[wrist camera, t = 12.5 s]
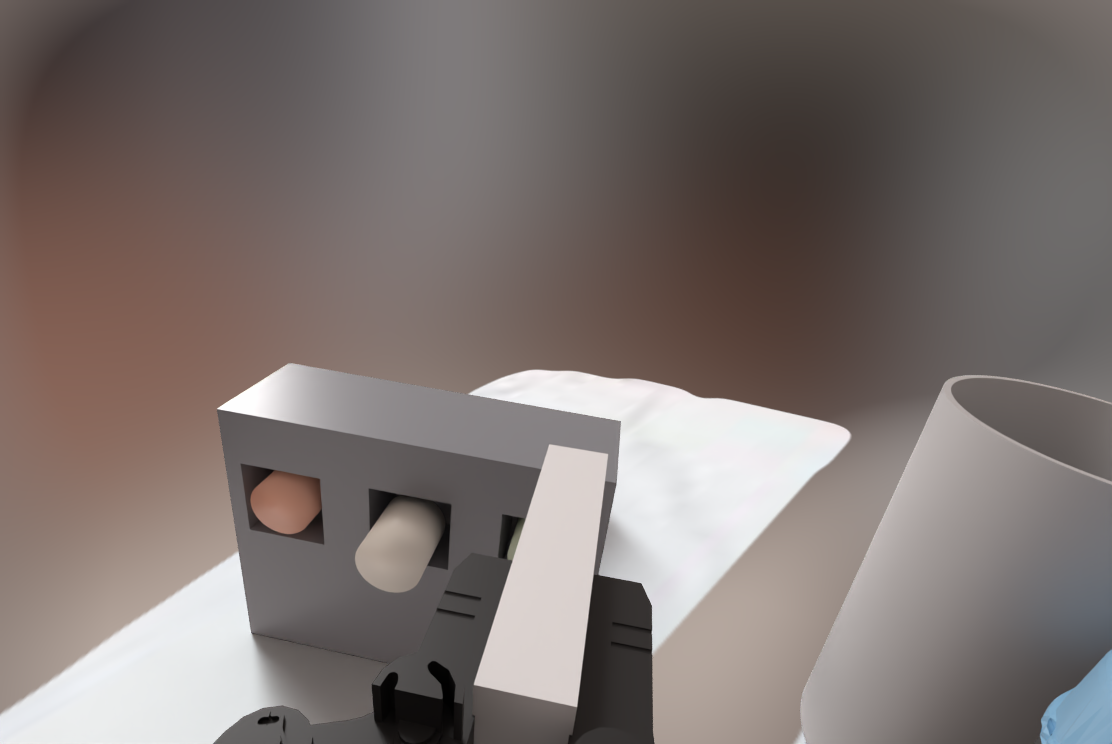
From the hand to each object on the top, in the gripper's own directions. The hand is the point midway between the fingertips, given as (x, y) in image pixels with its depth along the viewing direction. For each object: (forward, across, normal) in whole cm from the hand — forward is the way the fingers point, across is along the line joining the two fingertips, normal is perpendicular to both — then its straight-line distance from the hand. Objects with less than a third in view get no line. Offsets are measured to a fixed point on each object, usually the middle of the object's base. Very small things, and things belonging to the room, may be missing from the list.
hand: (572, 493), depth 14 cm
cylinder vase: (+14, +23, -27) cm, 38 cm away
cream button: (+12, -10, -16) cm, 22 cm away
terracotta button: (+14, -18, -16) cm, 28 cm away
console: (+16, -10, -26) cm, 32 cm away
